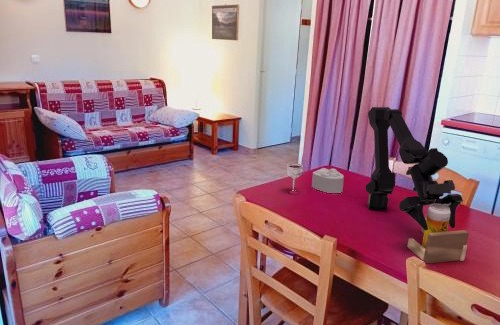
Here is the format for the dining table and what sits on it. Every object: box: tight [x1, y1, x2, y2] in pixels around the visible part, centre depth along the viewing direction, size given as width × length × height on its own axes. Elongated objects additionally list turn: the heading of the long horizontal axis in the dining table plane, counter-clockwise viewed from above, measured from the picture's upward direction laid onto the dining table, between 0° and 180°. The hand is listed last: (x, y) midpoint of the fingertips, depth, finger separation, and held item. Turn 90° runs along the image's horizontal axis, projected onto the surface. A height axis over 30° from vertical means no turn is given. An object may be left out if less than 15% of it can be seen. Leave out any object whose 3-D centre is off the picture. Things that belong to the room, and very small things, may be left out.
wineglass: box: [286, 162, 304, 191], centre depth 162 cm, size 7×7×12 cm
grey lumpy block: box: [311, 167, 345, 194], centre depth 167 cm, size 10×13×9 cm
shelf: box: [407, 217, 470, 264], centre depth 121 cm, size 19×12×9 cm, turn 12°
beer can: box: [421, 204, 451, 248], centre depth 117 cm, size 6×6×15 cm
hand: (440, 228), depth 115 cm, fingers open, 9 cm apart
